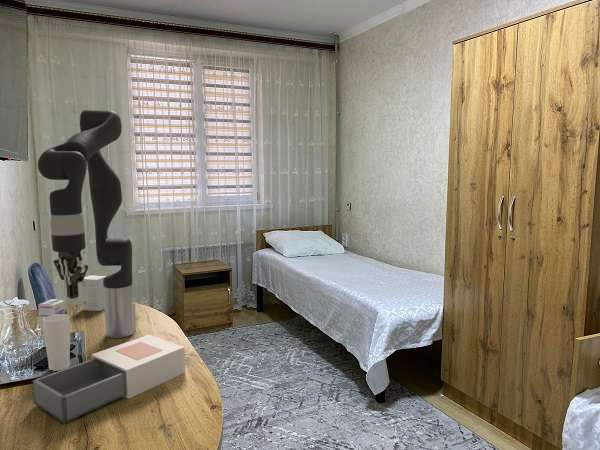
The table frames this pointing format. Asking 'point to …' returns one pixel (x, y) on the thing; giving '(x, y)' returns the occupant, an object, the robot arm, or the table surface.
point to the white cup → (57, 341)
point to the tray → (79, 389)
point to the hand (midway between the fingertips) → (73, 297)
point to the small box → (92, 293)
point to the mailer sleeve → (145, 362)
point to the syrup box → (51, 310)
